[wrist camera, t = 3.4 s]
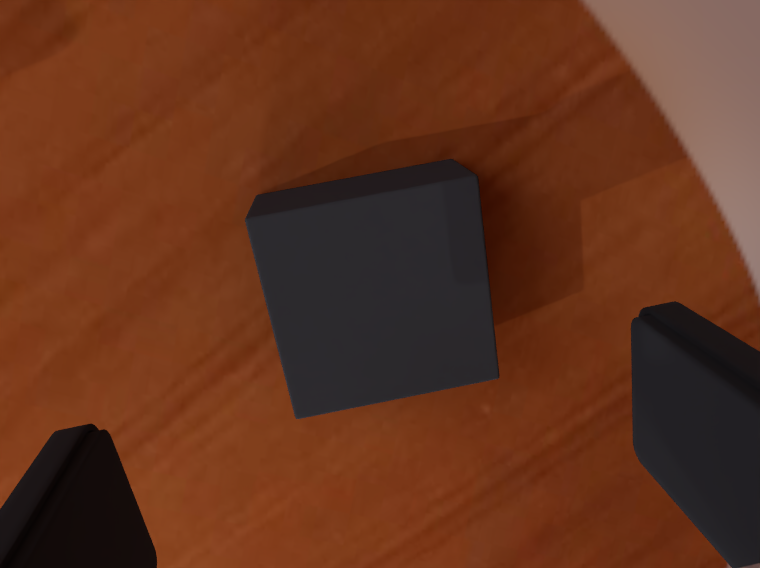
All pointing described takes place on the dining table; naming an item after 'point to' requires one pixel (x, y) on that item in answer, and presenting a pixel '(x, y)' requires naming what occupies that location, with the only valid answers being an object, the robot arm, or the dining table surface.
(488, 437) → the dining table surface
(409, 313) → the small pad
